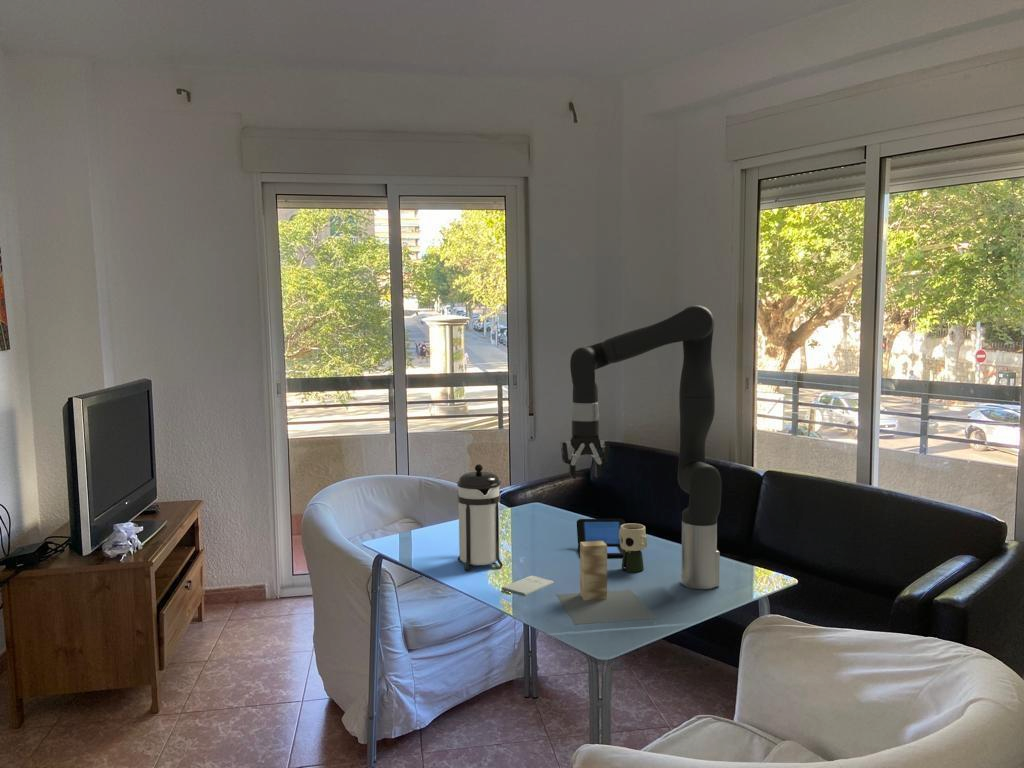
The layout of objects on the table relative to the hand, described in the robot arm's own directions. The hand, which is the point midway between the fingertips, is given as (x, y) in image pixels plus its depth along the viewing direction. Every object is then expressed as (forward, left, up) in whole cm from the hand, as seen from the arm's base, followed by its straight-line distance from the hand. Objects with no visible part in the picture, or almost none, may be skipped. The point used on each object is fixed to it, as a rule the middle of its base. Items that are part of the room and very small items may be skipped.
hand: (585, 477), depth 208 cm
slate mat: (+2, +26, -28) cm, 38 cm away
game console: (-11, -20, -28) cm, 36 cm away
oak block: (+3, +19, -27) cm, 34 cm away
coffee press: (+29, -15, -28) cm, 43 cm away
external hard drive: (+18, +8, -28) cm, 35 cm away
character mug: (-14, 0, -28) cm, 31 cm away
